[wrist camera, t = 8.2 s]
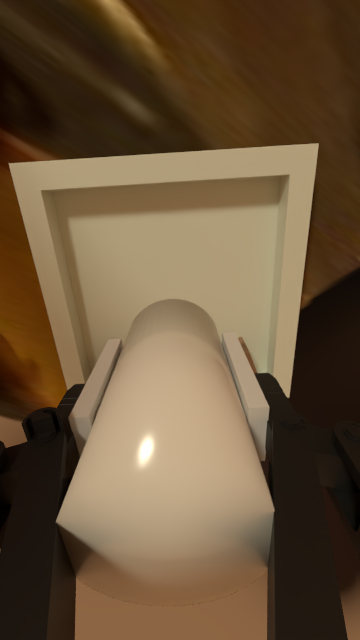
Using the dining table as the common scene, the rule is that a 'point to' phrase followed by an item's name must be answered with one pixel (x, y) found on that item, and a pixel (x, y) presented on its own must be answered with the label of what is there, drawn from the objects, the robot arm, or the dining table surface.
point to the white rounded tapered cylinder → (169, 472)
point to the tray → (171, 245)
